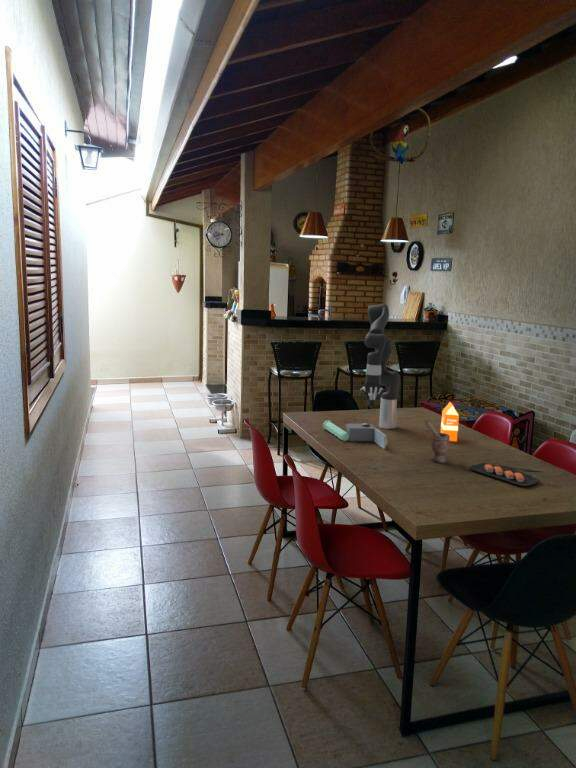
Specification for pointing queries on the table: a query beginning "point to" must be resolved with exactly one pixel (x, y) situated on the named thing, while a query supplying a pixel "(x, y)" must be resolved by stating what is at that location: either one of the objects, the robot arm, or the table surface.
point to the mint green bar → (336, 430)
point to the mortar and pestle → (438, 443)
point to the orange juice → (450, 422)
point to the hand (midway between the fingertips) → (371, 406)
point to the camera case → (360, 432)
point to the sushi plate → (506, 474)
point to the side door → (380, 438)
